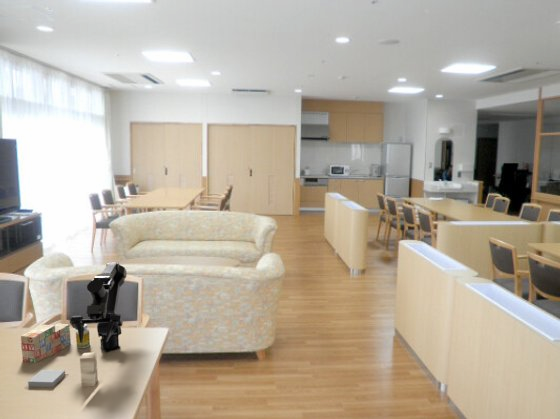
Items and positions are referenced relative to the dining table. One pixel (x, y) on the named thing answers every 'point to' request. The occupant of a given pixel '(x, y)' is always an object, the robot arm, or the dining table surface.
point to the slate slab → (46, 378)
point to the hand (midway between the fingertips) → (93, 342)
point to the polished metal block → (88, 369)
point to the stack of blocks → (44, 341)
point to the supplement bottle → (86, 338)
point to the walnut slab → (48, 387)
